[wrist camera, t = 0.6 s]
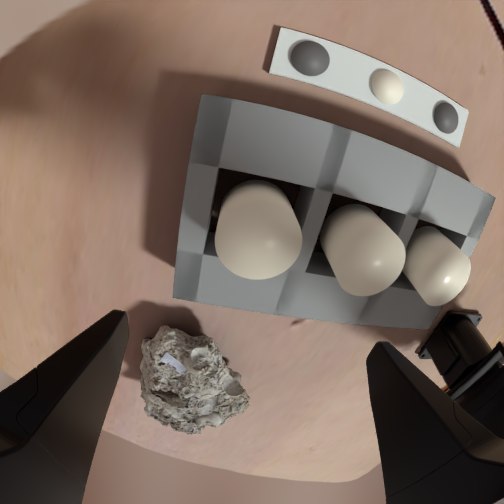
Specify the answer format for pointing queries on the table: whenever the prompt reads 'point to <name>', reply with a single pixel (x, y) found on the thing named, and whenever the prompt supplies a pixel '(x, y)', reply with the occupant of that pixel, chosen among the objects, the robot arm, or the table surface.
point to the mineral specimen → (188, 382)
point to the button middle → (361, 250)
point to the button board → (315, 211)
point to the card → (367, 83)
